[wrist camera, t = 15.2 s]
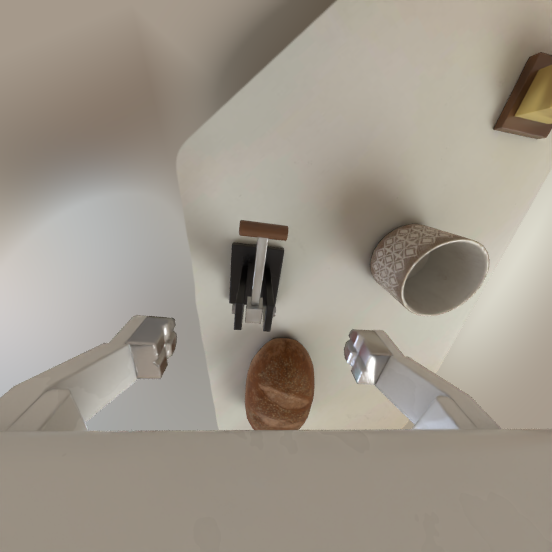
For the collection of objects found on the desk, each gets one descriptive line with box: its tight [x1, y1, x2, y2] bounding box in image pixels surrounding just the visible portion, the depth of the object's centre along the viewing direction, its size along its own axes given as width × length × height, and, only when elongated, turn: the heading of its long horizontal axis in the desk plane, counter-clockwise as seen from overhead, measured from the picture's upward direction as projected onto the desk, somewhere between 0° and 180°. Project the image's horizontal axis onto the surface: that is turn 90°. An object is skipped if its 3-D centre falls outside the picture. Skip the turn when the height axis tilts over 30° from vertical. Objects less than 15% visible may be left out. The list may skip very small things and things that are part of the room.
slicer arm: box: [239, 220, 288, 324], centre depth 25 cm, size 14×5×2 cm, turn 172°
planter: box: [370, 224, 489, 316], centre depth 34 cm, size 13×13×10 cm
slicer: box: [229, 243, 284, 332], centre depth 32 cm, size 12×9×13 cm
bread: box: [245, 338, 314, 430], centre depth 46 cm, size 16×29×11 cm, turn 175°
